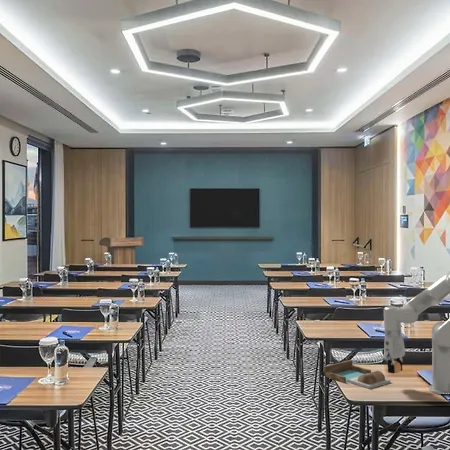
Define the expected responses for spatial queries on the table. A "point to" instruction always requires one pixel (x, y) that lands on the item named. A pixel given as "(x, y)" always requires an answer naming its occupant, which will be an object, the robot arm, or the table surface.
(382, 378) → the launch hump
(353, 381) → the grey base plate
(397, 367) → the ball
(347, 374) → the mat
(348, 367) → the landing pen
